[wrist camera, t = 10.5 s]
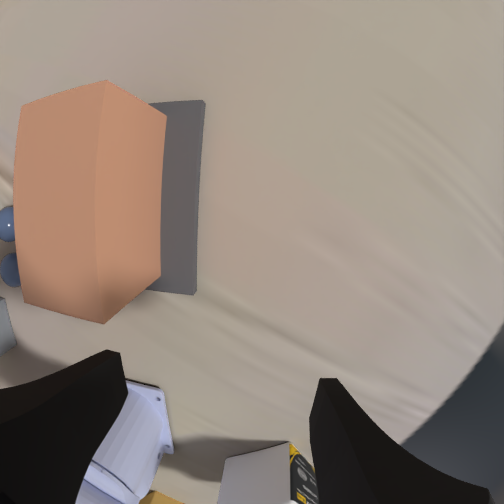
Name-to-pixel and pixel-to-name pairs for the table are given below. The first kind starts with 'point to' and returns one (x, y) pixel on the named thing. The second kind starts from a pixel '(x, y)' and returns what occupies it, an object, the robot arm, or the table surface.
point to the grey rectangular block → (5, 329)
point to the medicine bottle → (269, 478)
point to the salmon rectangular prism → (88, 200)
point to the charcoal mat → (180, 196)
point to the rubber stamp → (158, 499)
